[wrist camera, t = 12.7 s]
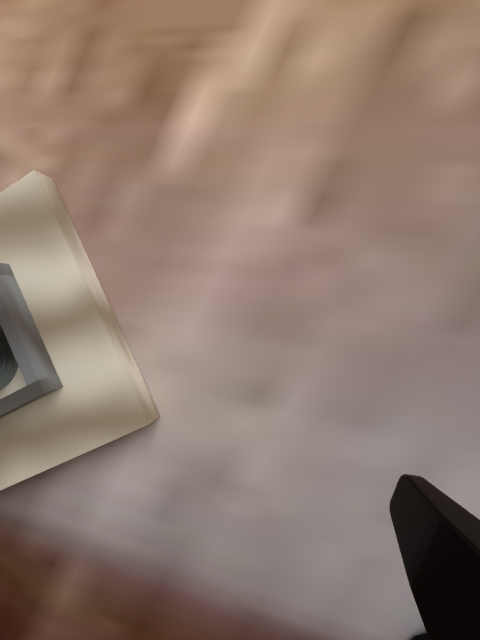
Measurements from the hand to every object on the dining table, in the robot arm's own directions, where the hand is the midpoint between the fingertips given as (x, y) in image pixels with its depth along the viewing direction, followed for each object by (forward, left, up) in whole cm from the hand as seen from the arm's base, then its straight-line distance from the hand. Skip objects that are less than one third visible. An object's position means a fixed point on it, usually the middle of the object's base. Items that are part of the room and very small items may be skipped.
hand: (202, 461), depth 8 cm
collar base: (+8, +15, -12) cm, 21 cm away
